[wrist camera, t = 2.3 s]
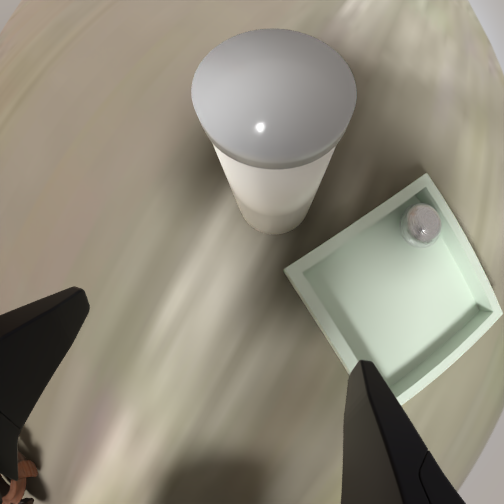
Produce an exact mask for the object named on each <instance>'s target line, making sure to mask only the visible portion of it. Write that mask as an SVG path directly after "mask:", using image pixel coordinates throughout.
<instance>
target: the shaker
mask: <svg viewBox="0 0 504 504" xmlns="http://www.w3.org/2000/svg"><path fill="white" fill-rule="evenodd" d="M356 100H357V89H356V83H355V79H354V76H353V74H352V72H351V70H350V68H349V66H348V65H347V63H346V62H345V60H344V59H343V58H342V57H341V56H340V55H339V54H338V53H337V52H336V51H335V50H334V49H333V48H331V47H330V46H328V45H327V44H326V43H324V42H322V41H320V40H319V39H317V38H315V37H312V36H310V35H307V34H304V33H301V32H297V31H292V30H286V29H260V30H254V31H249V32H245V33H242V34H239V35H236V36H234V37H231V38H230V39H228V40H226V41H224V42H222V43H221V44H219V45H218V46H216V47H215V48H214V49H213V50H212V51H210V52H209V53H208V54H207V56H206V57H205V58H204V59H203V60H202V62H201V63H200V65H199V66H198V68H197V70H196V72H195V75H194V78H193V82H192V101H193V106H194V108H195V111H196V113H197V116H198V118H199V120H200V123H201V125H202V127H203V129H204V131H205V133H206V135H207V137H208V138H209V139H210V141H211V142H212V144H213V146H214V148H215V151H216V153H217V156H218V158H219V160H220V163H221V165H222V168H223V170H224V172H225V175H226V177H227V180H228V182H229V185H230V187H231V189H232V192H233V194H234V197H235V199H236V202H237V204H238V206H239V209H240V211H241V214H242V216H243V217H244V219H245V220H246V222H247V223H248V224H249V225H250V226H251V227H253V228H254V229H256V230H257V231H260V232H262V233H265V234H271V235H277V234H283V233H287V232H289V231H291V230H293V229H295V228H296V227H297V226H298V225H300V224H301V222H302V221H303V220H304V218H305V217H306V215H307V212H308V210H309V208H310V206H311V203H312V201H313V199H314V196H315V194H316V192H317V190H318V187H319V185H320V183H321V180H322V178H323V176H324V173H325V171H326V169H327V166H328V164H329V161H330V159H331V157H332V154H333V152H334V150H335V147H336V145H337V143H338V142H339V141H340V140H341V138H342V136H343V135H344V133H345V131H346V128H347V126H348V124H349V121H350V119H351V117H352V114H353V112H354V109H355V105H356Z"/></svg>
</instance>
